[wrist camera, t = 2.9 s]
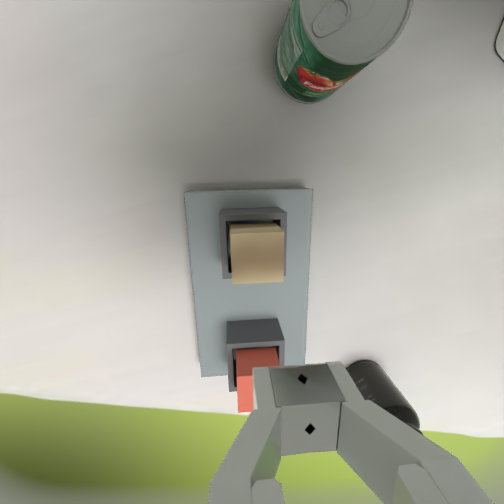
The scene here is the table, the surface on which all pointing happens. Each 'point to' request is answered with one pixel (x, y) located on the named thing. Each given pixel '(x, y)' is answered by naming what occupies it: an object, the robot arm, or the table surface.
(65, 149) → the table surface
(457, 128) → the table surface
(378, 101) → the table surface
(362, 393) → the supplement bottle
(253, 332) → the button panel
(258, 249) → the tan button
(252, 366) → the red button
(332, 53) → the canned tomato
